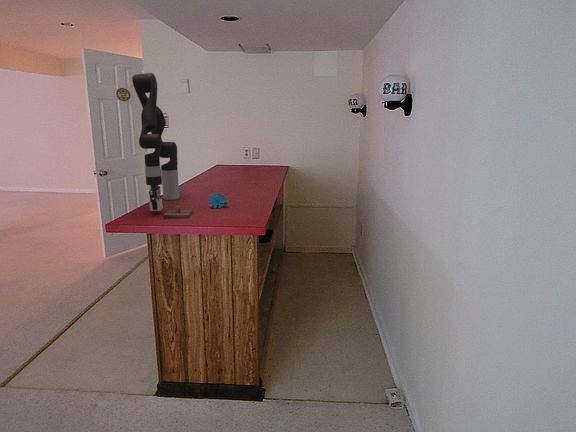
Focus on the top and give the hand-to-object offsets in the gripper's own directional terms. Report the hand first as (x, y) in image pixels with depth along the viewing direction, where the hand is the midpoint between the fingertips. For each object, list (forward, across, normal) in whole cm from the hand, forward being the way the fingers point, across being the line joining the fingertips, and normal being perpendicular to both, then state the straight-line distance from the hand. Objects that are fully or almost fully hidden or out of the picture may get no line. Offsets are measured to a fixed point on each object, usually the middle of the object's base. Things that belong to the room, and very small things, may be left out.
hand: (156, 208), depth 206 cm
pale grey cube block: (+1, 0, 0) cm, 1 cm away
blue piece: (+3, -11, +30) cm, 32 cm away
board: (+2, +5, +12) cm, 13 cm away
